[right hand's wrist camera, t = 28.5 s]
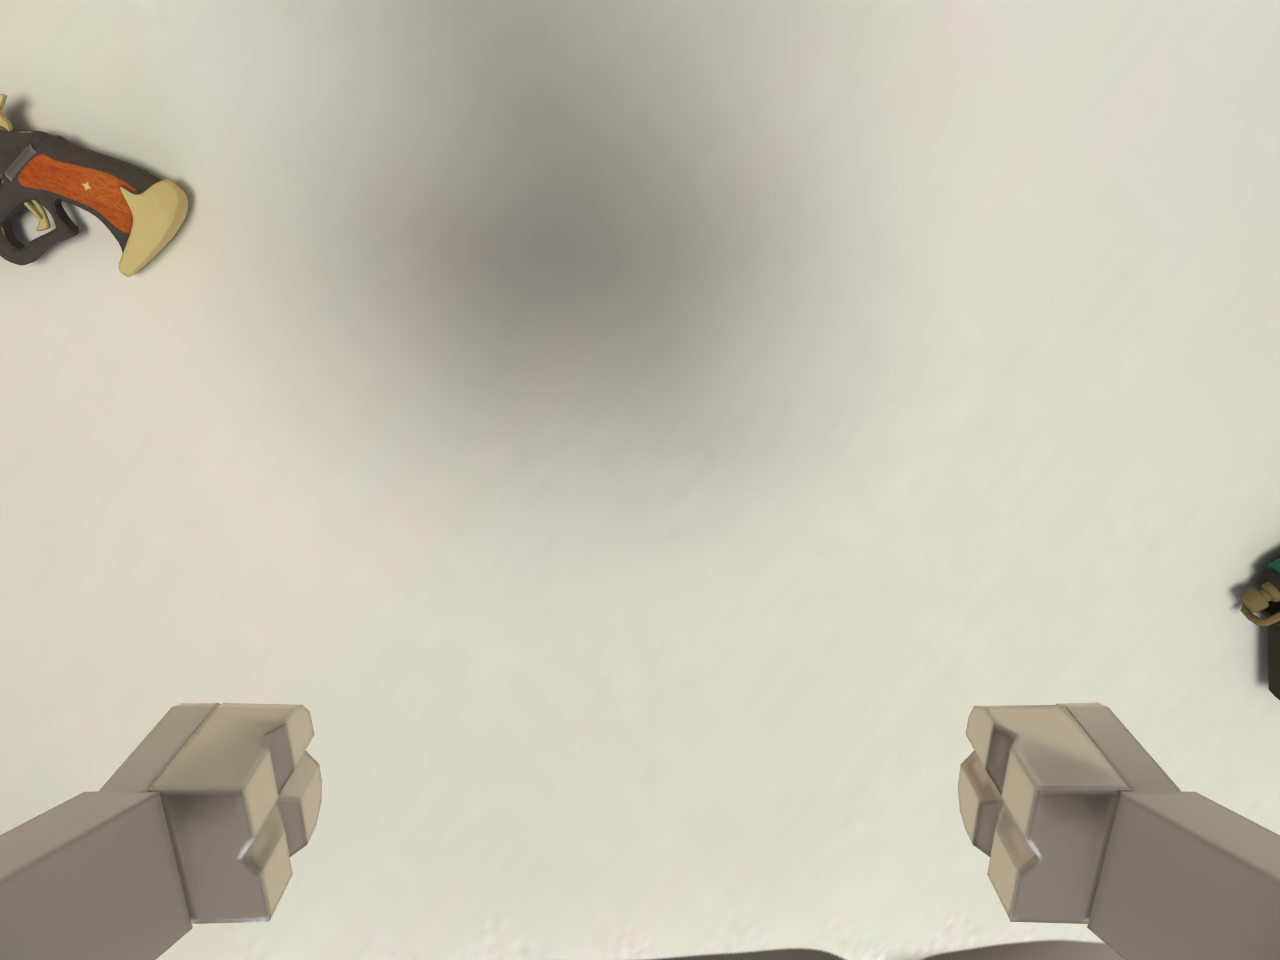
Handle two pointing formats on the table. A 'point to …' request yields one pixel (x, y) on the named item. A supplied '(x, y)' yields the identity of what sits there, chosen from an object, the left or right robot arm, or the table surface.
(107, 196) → the toy gun
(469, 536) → the table surface
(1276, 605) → the spray gun
